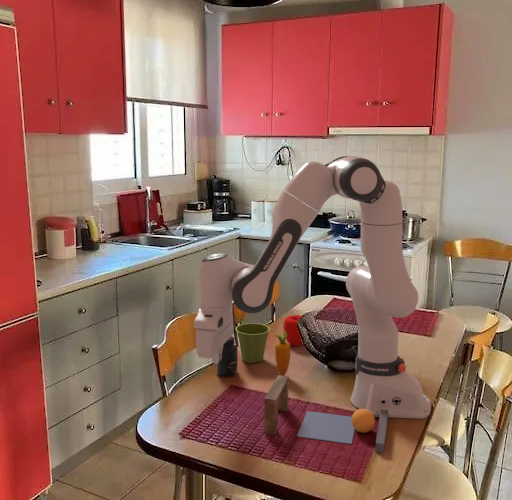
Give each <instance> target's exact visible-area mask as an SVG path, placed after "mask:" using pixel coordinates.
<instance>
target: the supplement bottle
mask: <svg viewBox="0 0 512 500" xmlns="http://www.w3.org/2000/svg"><path fill="white" fill-rule="evenodd" d="M215 364H216V363H215ZM237 373H238V346H236V344H235V337H234V336H233V335H232V336H231V337H230V338H229V339H228V340H227V341H226V342H225V343H224V344H223V350H222V359H221V360H220V361H219V362H218V363H217V364H216V374H217V375H218V376H220V377H225V378H226V377H227V378H228V377H233V376H235V375H237Z"/></svg>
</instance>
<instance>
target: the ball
mask: <svg viewBox="0 0 512 500" xmlns="http://www.w3.org/2000/svg"><path fill="white" fill-rule="evenodd" d="M351 417H352V419H351V421H352V425H353V427H354V428H355V431H357V432H358V433H362V434H366V433H369V432H370V431H372V430H373V429H374V427H375V422H376V420H375V417H374V416H373V414H372V413H371V412H370V411H369V410H366V409H359V408H358V409H357V410H356V411H354V412H353V414H352V415H351Z"/></svg>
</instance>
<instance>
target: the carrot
mask: <svg viewBox="0 0 512 500" xmlns="http://www.w3.org/2000/svg"><path fill="white" fill-rule="evenodd" d="M275 337H276V338H277V339H278V341H279V342H276V343H275V345H274V351H275V352H274V353H275V363H276V367H277V370H278V373H279V374H280V375H281V376H286V374H287V371H288V368H289V365H290V360H291V345H290V344H289V343H288V342H287V340H286V337H287V335H286V331H284V330H283V335H282V336H281V335H280V334H275Z"/></svg>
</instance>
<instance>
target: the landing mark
mask: <svg viewBox="0 0 512 500" xmlns="http://www.w3.org/2000/svg"><path fill="white" fill-rule="evenodd" d="M351 419H352V416H348V415H341V414H334V413H325V412H318V411H317V412H316V411H312V410H311V411H309V410H307V411H306V412H305V415H304V418H303V420H302V422H301V425H300V427H299V430H298V432H297V434H296V437H297V438H304V439H311V440H318V441H326V442H333V443H339V444H346V445H352V443H353V440H354V435H355V431H356V429H355V428H354V427H353V425H352V421H351Z"/></svg>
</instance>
